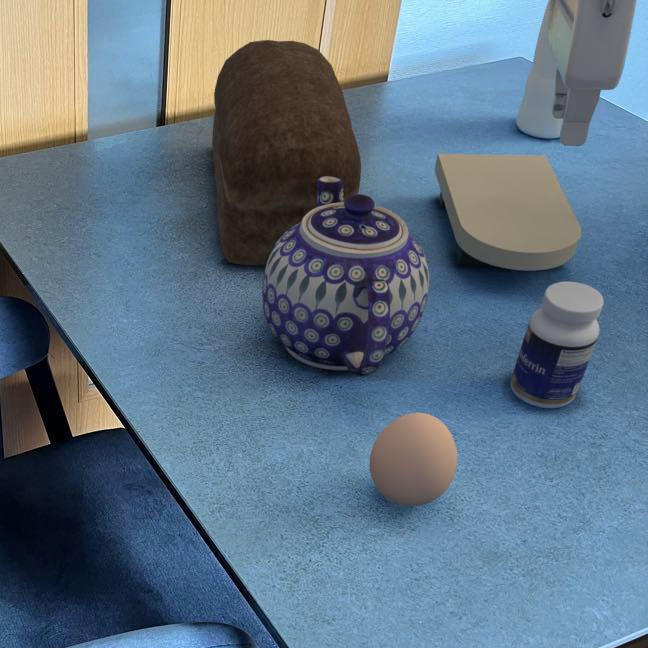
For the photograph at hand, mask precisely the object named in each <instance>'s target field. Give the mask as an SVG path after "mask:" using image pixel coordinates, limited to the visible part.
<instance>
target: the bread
mask: <svg viewBox="0 0 648 648" xmlns="http://www.w3.org/2000/svg"><path fill="white" fill-rule="evenodd" d="M334 70H335V69H334V67H333V65H332V64H331V63H330V62H329V60H328V59H327V58H326V57H325V56H324V54H323V53H322V52H321V51H320V50H319V49H318V48H316V47H313V46H311V45H309V44H307V43H305V42H300V41H295V40H273V39H272V40H271V39H262V40H254V41H250V42H248V43H245V44H244V45H243V46H241V47H239V48H238V49H237V50H236V51H234V52H233V53H232V54H231V55H230V56H229V57H228V58H226V59H225V61H224V63H223V65H222V67H221V69H220V71H219V73H218V75H217V79H216V82H215V87H214V92H213V101H214V108H215V111H214V116H213V126H212V139H211V145H212V146H211V147H212V156H213V166H214V168H213V169H214V171H213V176H214V181H215V185H216V186H215V187H216V208H217V217H218V227H219V228H218V230H219V239H220V246H221V248H222V252H223V253H224V257H225V258H226V260H227V262H228V263H230V264H235V265H242V266H243V265H245V266H264V267H266V265H267V261H268V259H269V256H270V253H271V251H272V250H273V248H274V246H275V244H276V243H277V241H278V240H279V239H280V238H281V237H282V236H283V235H284V234H285V233H286V232H287V231H288V230H289V229H290V228H292V227H293V226H295V225H297V224H299V223H301V222H302V219H303V217H304V216H305V215H306V214H307V213H308V212H310V211H311V210H313V209H315V208H317V198H318V185H317V180H318V179H319V178H321V177H325V176H329V177H336V178H338V179H341V180H342V181H343V202H344V201H345V199H346V198H348V197H349V196H351V195H355V194H359V193H360V185H361V179H362V178H361V176H362V162H361V161H362V160H361V154H360V150H359V146H358V143H357V139H356V136H355V132H354V130H353V126H352V121H351V120H352V119H351V116H350V114H349V111H348V108H347V104H346V99H345V95H344V92H343V90H342V87H341V85H340V83H339V80H338V77H337V76H336V73H335V71H334Z"/></svg>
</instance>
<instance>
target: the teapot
mask: <svg viewBox="0 0 648 648" xmlns="http://www.w3.org/2000/svg"><path fill="white" fill-rule="evenodd" d="M317 185H318V198H317V208H315V209H313V210H311V211H310V212H308V213H307V214H306V215H305V216H304V217H303V219H302V222H301V223H299V224H297V225H295V226H293V227H292V228H290V229H289V230H288V231H287V232H286V233H285V234H284V235H283V236H282V237H281V238H280V239H279V240H278V241H277V243H276V244H275V246H274V248H273V250H272V251H271V253H270V256H269V259H268V261H267V265H266V266H265V269H264V274H263V278H262V286H261V287H262V289H261V295H262V297H261V298H262V311H263V316H264V319H265V321H266V324H267V328H269V331H270V332H271V334H272V336H274V337H275V339H277V340H278V342H280V343H281V344H282V345H283V346H284V347H285V349H286V351H287V352H288V353H289V354H290V356H292V357H293V358H295V360H298V361H300V362H301V363H303V364H306V365H308V366H310V367H314V368H317V369H321V370H326V371H327V370H328V371H343V372H344V371H349V372H350V373H351V374H352V375H355V376H359V377H366V376H369V375H372V374H374V373H376V372H377V371H378V369H379V368H380V367H381V365H382V362H383V359H384V358H385V357H387V356H388V355H391V354H392V353H394V352H395V351H397V350H399V349H400V348H401V347H403V346H404V345H405V344H406V343H407V341H408V340H409V339H410V338H411V337H412V336H413V334H414V332H415V331H416V329H417V327H418V326H419V324H420V322H421V319H422V316H423V315H424V311H425V308H426V305H427V301H428V296H429V288H430V269H429V262H428V258H427V257H426V255H425V252H424V250H423V247H421V245H420V244H419V243H418V241H417V240H415V238H413V236H412V235H411V234H410V232H409V227H408V225H407V224H406V221H405V220H404V219H403V218H402V217H400V216H399V215H398V214H397V213H395V212H394V211H391V210H389V209H388V208H385V207H383V206H378V205H375V204H376V203H375V201H374V200H373V198H372V197H371V196H369V195H365V194H359V193H358V194H355V195H351V196H349V197H348V198H346V199H345V201H344V202H343V181H342V180H341V179H338V178H336V177H329V176H325V177H321V178H319V179H318V180H317Z"/></svg>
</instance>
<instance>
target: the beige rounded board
mask: <svg viewBox="0 0 648 648" xmlns="http://www.w3.org/2000/svg"><path fill="white" fill-rule="evenodd" d="M434 174H435V177H436V180H437V184H438V186H439V189H440V192H439V197H438V200H439V204H440V207H441V208H445V210H446V212H447V216H448V219H449V222H450V226H451V228H452V232H453V235H454V238H455V241H456V243H457V245H458V246H457V251H456V255H455V256H456V260H457V263H458V266H466V267H467V266H470V267H471V266H473V267H497V268H502V269H506V270H507V269H508V270H515V271H528V272H530V271H532V272H533V271H534V272H535V271H543V270H545V271H546V270H550V269H556V268H557V267H561V266H563V265H565V264H567V263H568V262H569V261H570V260H571V259H572V258H573V257H574V256H575V254H576V251H577V248H578V245H579V243H580V239H581V236H582V226H581V224H580V222H579V220H578V218H577V216H576V214H575V212H574V209H573V207H572V206H571V204H570V202H569V199H568V197H567V195H566V193H565V191H564V189H563V187H562V186H561V185H562V184H561V182H560V181H559V180H558V177H557V175H556V173H555V171H554V169H553V167H552V165H551V163H550V161H549V159H548V156H547V155H539V154H538V155H536V154H535V155H533V154H484V153H483V154H482V153H481V154H480V153H479V154H476V153H437V154H436V160H435V164H434Z"/></svg>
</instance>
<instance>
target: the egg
mask: <svg viewBox="0 0 648 648" xmlns="http://www.w3.org/2000/svg"><path fill="white" fill-rule="evenodd" d="M371 447H372V448H371V451H370V454H369V474H370V477H371V480H372V482H373V485H374V486H375V488H376V489H377V490H378V492H379V493H380V494H381V495H382V496H383V497H385V499H387V500H388V501H390V502H392V503H394V504H397V505H400V506H403V507H418V506H423V505H427V504H429V503H431V502H433V501H435V500H437V499H438V498H439V497H440V496H442V495H443V494H444V493H445V492H446V491H447V490H448V489H449V488H450V486H451V485H452V483H453V480H454V479H455V476H456V472H457V468H458V466H457V465H458V461H459V460H458V448H457V445H456V441H455V439H454V436H453V435H452V433H451V431H450V430H449V428H448V426H447V425H446V424H445V423H444V422H443V421H442V420H440V419H439V418H437V417H436V416H434V415H432V414H429V413H424V412H410V413H405V414H404V415H401V416H399V417H397V418H396V419H394V420H393V421H391V422H390V423H388V424H387V425H386V427H384V429H383V430H382V431H380V433H379V434H378V435H377V437H376V439H375V441H374V442H373V445H372V446H371Z"/></svg>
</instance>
